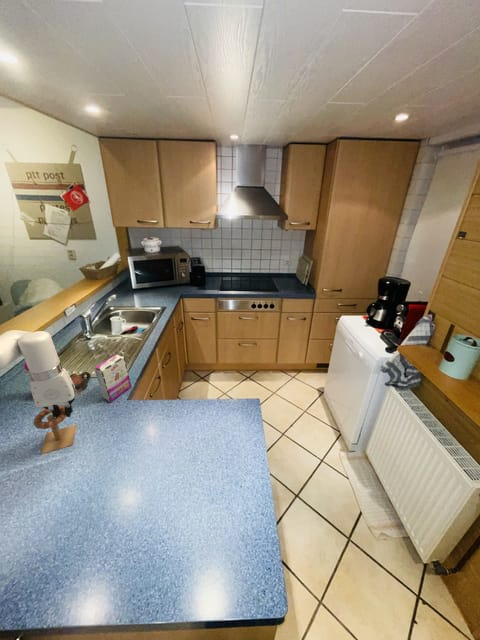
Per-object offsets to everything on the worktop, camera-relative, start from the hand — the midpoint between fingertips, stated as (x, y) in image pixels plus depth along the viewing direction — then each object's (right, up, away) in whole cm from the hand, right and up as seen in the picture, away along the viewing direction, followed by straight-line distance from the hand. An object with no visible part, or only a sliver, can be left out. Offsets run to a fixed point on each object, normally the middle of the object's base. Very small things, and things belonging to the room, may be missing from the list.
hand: (64, 415), depth 84 cm
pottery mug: (-13, +1, +28) cm, 31 cm away
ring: (-3, 0, -2) cm, 4 cm away
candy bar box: (+5, 0, +25) cm, 26 cm away
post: (-3, -10, +3) cm, 11 cm away
